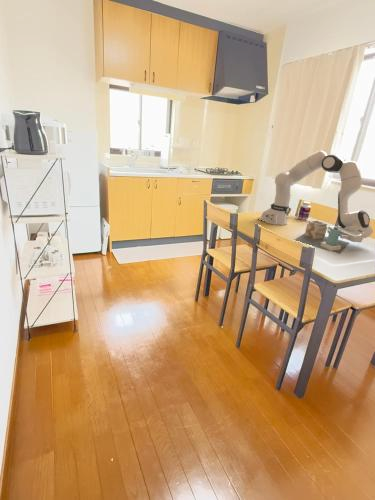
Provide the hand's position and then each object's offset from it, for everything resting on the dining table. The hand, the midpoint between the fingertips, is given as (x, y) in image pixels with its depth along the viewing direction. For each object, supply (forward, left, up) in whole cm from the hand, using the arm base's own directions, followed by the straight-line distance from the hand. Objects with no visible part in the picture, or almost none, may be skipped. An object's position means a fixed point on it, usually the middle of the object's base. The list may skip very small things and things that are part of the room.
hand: (334, 234), depth 166 cm
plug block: (0, 0, -9) cm, 9 cm away
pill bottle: (-36, +58, -10) cm, 69 cm away
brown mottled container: (-14, +15, -9) cm, 22 cm away
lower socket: (0, 0, -9) cm, 9 cm away
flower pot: (-51, +53, -10) cm, 74 cm away
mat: (-7, +7, -9) cm, 14 cm away
